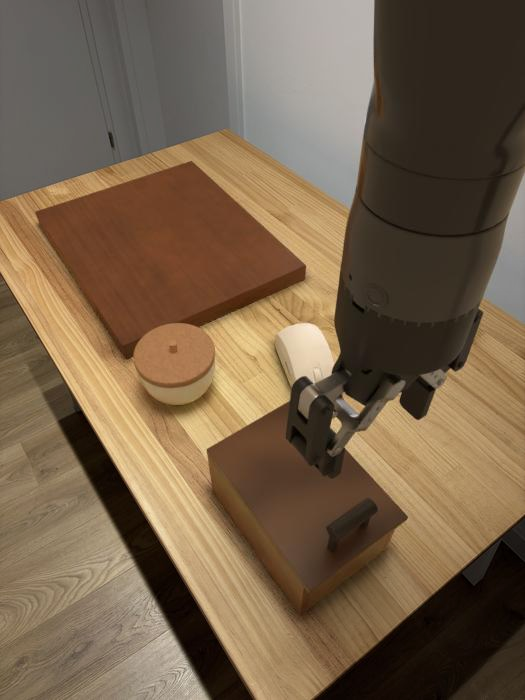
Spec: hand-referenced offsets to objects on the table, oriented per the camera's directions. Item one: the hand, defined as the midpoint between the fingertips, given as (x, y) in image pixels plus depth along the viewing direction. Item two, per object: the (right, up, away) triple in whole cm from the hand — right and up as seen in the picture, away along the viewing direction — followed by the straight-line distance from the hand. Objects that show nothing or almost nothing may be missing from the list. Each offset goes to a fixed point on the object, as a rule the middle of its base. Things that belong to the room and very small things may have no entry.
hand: (370, 438), depth 41 cm
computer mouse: (-2, +4, +40) cm, 40 cm away
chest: (-4, -13, +24) cm, 28 cm away
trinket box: (-20, +1, +38) cm, 42 cm away
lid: (-4, -8, +18) cm, 20 cm away
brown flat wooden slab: (-25, +24, +58) cm, 68 cm away
